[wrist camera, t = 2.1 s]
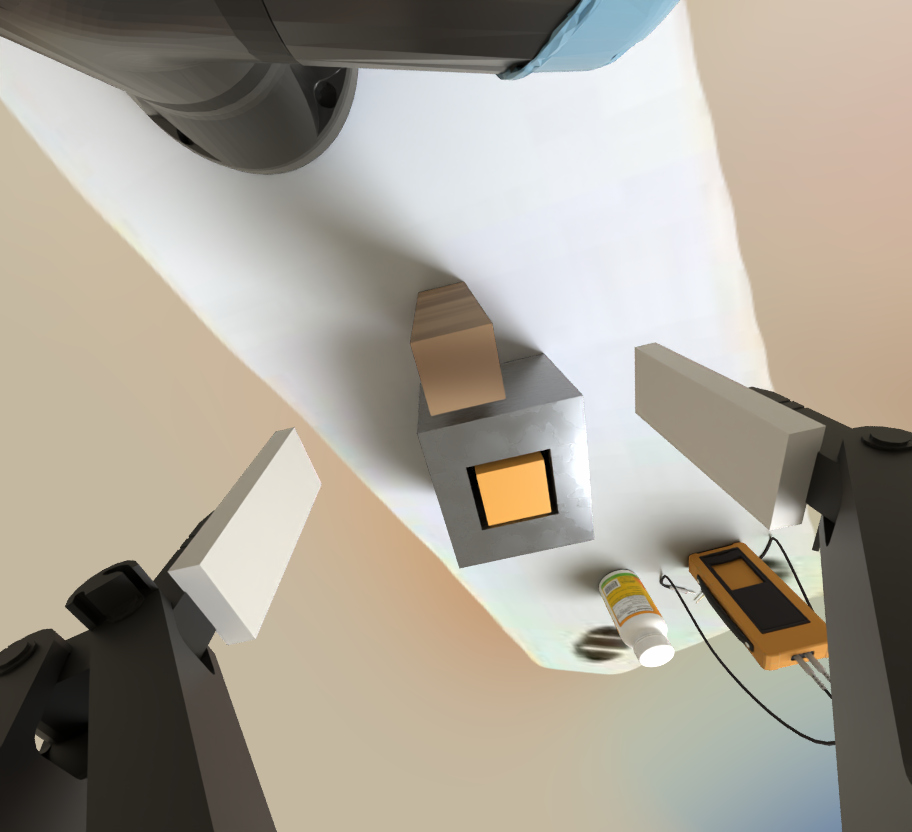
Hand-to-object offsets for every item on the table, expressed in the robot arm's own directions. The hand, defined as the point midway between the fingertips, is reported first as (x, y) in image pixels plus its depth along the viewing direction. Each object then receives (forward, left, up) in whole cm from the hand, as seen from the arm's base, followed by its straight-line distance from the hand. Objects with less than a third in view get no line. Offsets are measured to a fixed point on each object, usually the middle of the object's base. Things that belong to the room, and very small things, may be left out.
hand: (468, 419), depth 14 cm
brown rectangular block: (0, 0, -21) cm, 21 cm away
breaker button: (+13, +2, -17) cm, 21 cm away
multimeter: (+42, +27, -21) cm, 54 cm away
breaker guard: (+13, +2, -21) cm, 24 cm away
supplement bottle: (+40, +14, -21) cm, 47 cm away
